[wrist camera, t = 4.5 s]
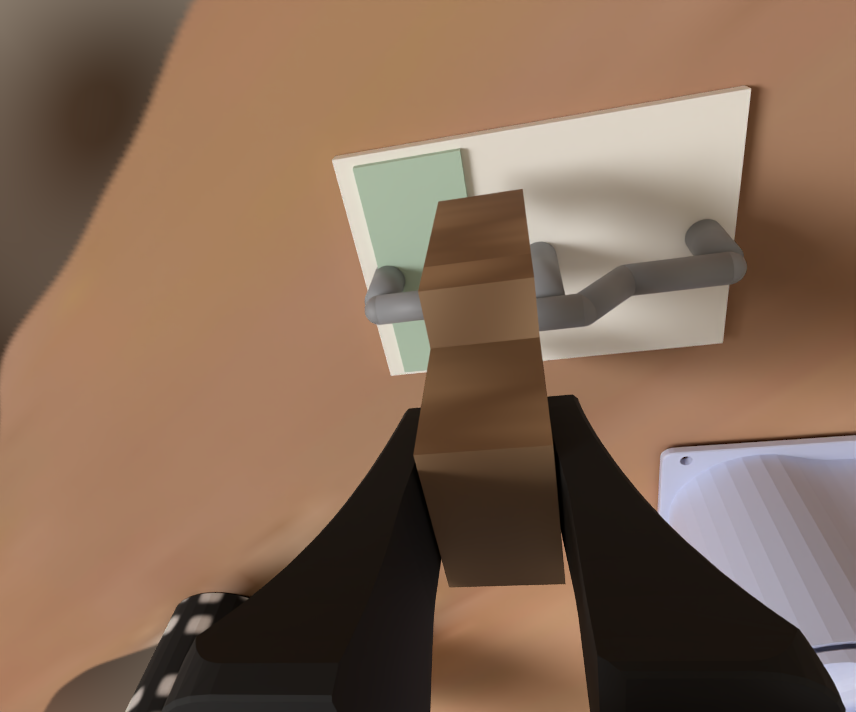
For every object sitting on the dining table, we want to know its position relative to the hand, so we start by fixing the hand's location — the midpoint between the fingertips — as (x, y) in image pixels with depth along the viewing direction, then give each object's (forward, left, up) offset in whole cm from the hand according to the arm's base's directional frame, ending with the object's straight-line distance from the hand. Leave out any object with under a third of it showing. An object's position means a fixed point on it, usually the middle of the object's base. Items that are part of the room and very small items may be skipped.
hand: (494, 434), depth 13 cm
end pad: (+2, 0, -10) cm, 10 cm away
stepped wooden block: (0, 0, -7) cm, 7 cm away
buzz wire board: (-2, 0, -10) cm, 10 cm away
